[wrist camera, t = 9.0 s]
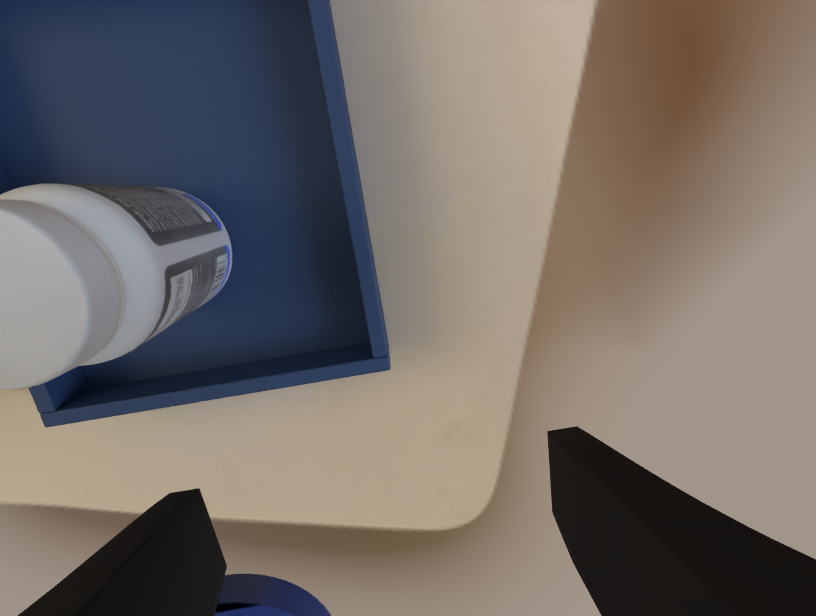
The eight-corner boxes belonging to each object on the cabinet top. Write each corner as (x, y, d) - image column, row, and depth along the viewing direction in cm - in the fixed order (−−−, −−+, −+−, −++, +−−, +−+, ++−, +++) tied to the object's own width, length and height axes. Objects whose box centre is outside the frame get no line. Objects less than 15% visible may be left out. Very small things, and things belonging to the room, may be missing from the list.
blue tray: (389, 347, 19) (390, 370, 16) (89, 397, 19) (44, 428, 16) (320, -55, 15) (309, -105, 12) (-63, -3, 15) (-154, -44, 12)
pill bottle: (86, 209, 16) (-210, 220, 8) (206, 171, 16) (30, 144, 8) (143, 323, 17) (-64, 435, 9) (254, 289, 17) (145, 371, 9)
